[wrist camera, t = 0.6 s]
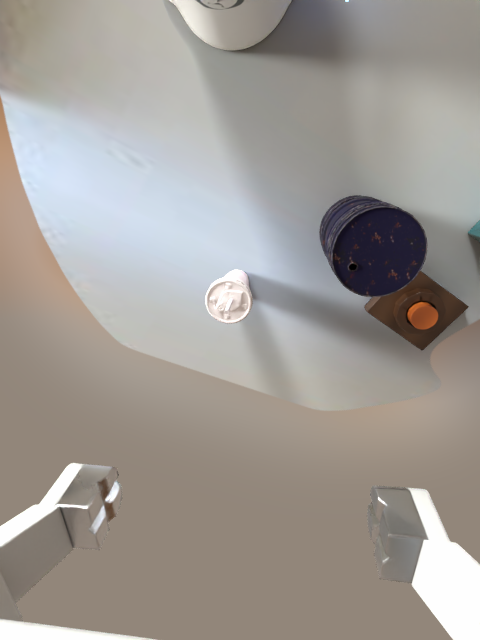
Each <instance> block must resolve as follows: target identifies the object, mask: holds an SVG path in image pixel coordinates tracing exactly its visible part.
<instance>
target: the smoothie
mask: <svg viewBox="0 0 480 640" xmlns="http://www.w3.org/2000/svg"><path fill="white" fill-rule="evenodd" d="M205 302H206V307H207V309H208V311H209V313H210V314H211V315H212V316H213V317H214V318H215V319H216V320H218V321H220V322H223V323H237V322H239V321H241V320H243V319H244V318H245V317H246V316H247V315H248V314H249V312H250V310H251V307H252V304H253V298H252V294H251V291H250V288H249V278H248V276H247V274H246V273H245V272H243V271H241V270H232V271H231V272H229V273H228V274H227V275H226V276H224V277H223V278H221V279H218V280H217V281H215V282H214V283H213V284H212V285H211V286H210V287H209V289H208V291H207V294H206V299H205Z"/></svg>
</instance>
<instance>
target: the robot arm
mask: <svg viewBox="0 0 480 640" xmlns="http://www.w3.org/2000/svg"><path fill="white" fill-rule="evenodd" d="M169 1H171V2H172V3H173V4H175V6H176V7H177V8H178V10H179V11H180V13H181V14H182V16H183V18H184V20H185V21H186V23H187V24H188V26H189V27H190V29H191V30H192V31H193V32H194V33H195V34H196V35H197V36H198V37H199V38H200V39H201V40H203V41H204V42H206V43H207V44H209V45H211V46H213V47H216V48H219V49H223V50H241V49H245V48H248V47H251V46H253V45H255V44H257V43H259V42H260V41H262V40H263V39H264V38H266V37H267V36H268V35H269V34H270V33H271V32H272V31H273V30H274V29H275V27H276V26H277V25H278V23H279V22H280V21H281V19H282V17H283V16H284V14H285V12H286V10H287V8H288V6H289V5H290V3H291V1H292V0H169ZM347 1H349V0H346V2H347ZM118 475H119V474H118V471H117V468H116V467H109V466H100V465H90V464H77V463H71V464H70V465H68V466H67V467H66V469H65V470H64V471H63V473H62V474H61V476H60V477H59V478H58V480H57V481H56V482H55V484H54V485H53V487H52V488H51V489H50V491H49V492H48V493H47V495H46V496H45V497H44V499H43V500H42V501H41V503H40V504H39V505H33V506H32V507H30V508H29V509H27V510H25V511H24V512H22V513H21V514H19V515H18V516H16V517H15V518H13V519H11V520H10V521H8V522H7V523H5V524H3V525H2V526H0V640H156V639H149V638H141V637H134V636H127V635H119V634H112V633H104V632H96V631H89V630H82V629H74V628H66V627H59V626H52V625H44V624H37V623H29V622H23V620H22V615H21V614H20V611H19V609H18V607H17V605H16V602H17V601H18V600H19V599H20V598H22V597H23V596H24V595H25V594H26V593H27V592H28V591H29V590H30V589H31V588H32V587H33V586H34V585H36V584H37V583H38V582H39V581H40V580H41V579H42V578H43V577H44V576H45V575H46V574H48V573H49V572H50V571H51V570H52V569H53V568H54V567H55V566H56V565H57V564H58V563H59V562H61V561H62V560H63V559H64V558H65V557H66V556H67V555H68V554H69V553H70V552H71V551H72V550H73V548H82V549H96V550H99V549H100V548H101V546H102V544H103V541H104V540H105V537H106V535H107V533H108V531H109V525H108V522H109V521H110V520H111V519H113V518H114V517H115V516H116V515H117V513H118V510H119V508H120V505H121V500H122V487H121V485H120V484H119V483H118V482H117V481H116V479H117V478H118ZM370 496H371V499H372V503H370V504H369V505H368V512H367V517H368V519H367V520H368V529H369V534H370V539H371V540H372V542H373V543H374V544H375V545H376V546H375V552H374V556H375V561H376V565H377V570H378V574H379V578H380V579H383V580H391V581H398V582H407V583H412V586H413V588H414V589H415V590H416V591H417V593H418V594H419V595H420V597H421V598H422V599H423V601H424V602H425V603H426V605H427V606H428V607H429V609H430V610H431V611H432V613H433V614H434V615H435V617H436V618H437V619H438V620H439V622H440V623H441V624H442V626H443V627H444V628H445V630H446V631H447V632H448V633H449V635H450V636H451V638H452V639H453V640H480V564H479V563H478V562H477V561H476V560H475V559H473V558H472V557H471V556H470V555H469V554H468V553H467V552H466V551H465V550H464V549H463V548H461V547H460V546H459V545H458V544H457V543H454V542H450V540H449V538H448V535H447V533H446V531H445V529H444V527H443V525H442V522H441V520H440V518H439V515H438V513H437V511H436V508H435V506H434V504H433V502H432V499H431V498H430V495H429V493H428V491H427V490H426V489H415V488H403V487H387V486H372V488H371V493H370Z"/></svg>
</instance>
